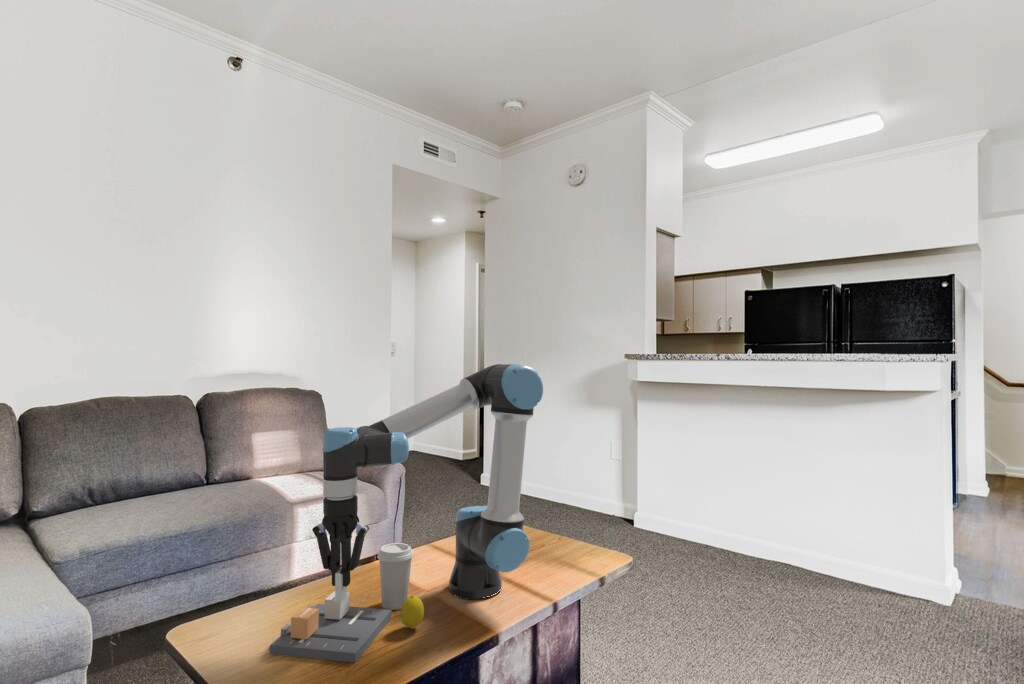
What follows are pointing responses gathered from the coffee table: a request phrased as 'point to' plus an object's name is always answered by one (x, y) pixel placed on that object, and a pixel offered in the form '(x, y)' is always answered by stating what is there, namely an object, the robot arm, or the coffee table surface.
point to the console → (335, 635)
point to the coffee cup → (394, 574)
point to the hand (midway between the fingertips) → (341, 599)
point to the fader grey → (336, 607)
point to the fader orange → (304, 623)
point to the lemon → (412, 612)
